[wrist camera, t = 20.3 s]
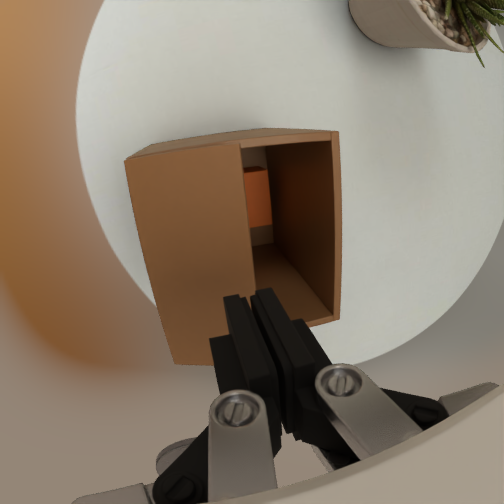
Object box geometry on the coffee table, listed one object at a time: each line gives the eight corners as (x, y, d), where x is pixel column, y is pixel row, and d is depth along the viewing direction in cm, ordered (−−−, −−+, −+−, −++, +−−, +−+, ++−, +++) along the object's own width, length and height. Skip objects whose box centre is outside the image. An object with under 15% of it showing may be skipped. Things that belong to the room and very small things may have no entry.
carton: (277, 244, 34) (339, 319, 21) (172, 263, 32) (174, 356, 19) (267, 127, 29) (339, 131, 16) (150, 144, 27) (125, 158, 14)
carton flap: (264, 361, 18) (263, 365, 17) (176, 360, 18) (174, 364, 18) (240, 142, 13) (239, 143, 13) (127, 159, 14) (123, 160, 13)
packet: (259, 165, 30) (268, 169, 27) (264, 215, 32) (272, 224, 29) (180, 177, 28) (180, 183, 26) (188, 228, 30) (189, 238, 28)
